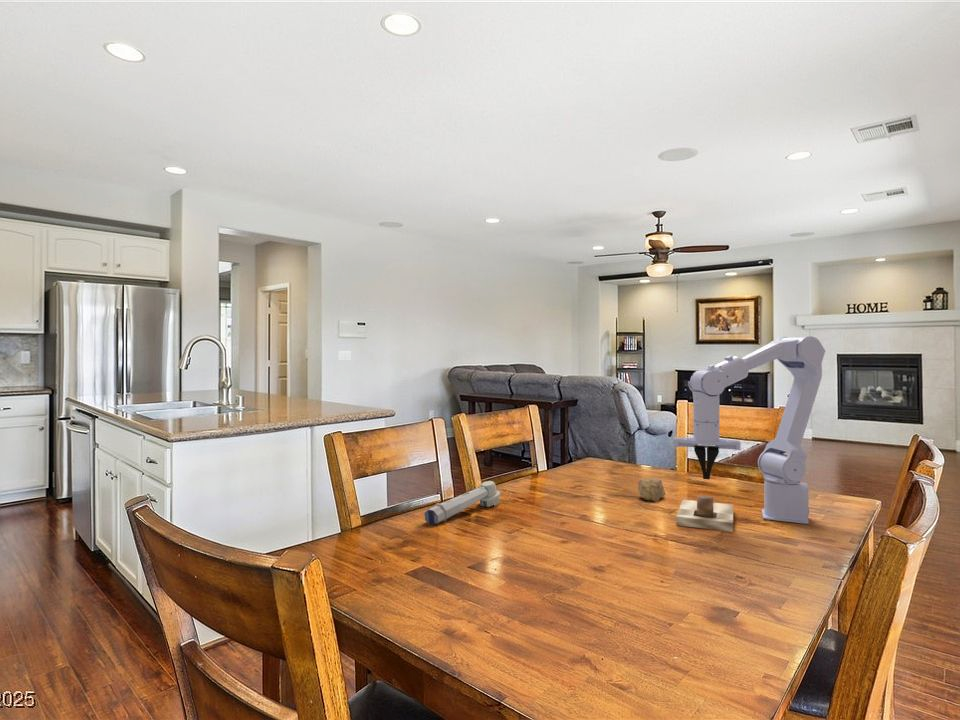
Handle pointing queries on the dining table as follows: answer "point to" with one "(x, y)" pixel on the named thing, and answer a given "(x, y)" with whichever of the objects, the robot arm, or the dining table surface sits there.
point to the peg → (705, 506)
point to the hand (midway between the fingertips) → (706, 478)
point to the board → (718, 522)
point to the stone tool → (651, 488)
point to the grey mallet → (463, 503)
